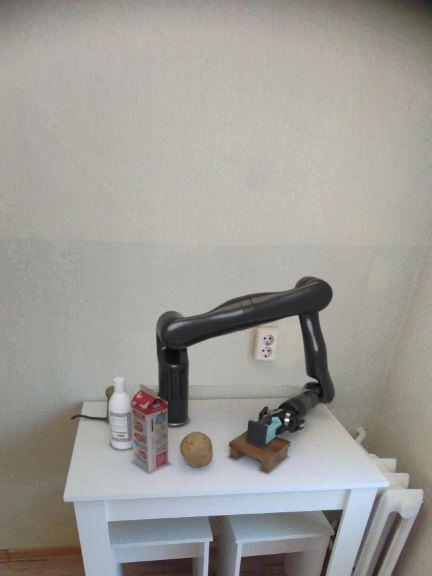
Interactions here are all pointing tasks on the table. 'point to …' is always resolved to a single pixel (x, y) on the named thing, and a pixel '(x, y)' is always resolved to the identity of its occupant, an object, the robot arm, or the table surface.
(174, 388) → the robot arm
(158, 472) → the table surface
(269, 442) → the iron
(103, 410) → the table surface
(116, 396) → the bath foam
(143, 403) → the milk carton
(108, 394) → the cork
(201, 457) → the natural sponge
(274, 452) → the stand
